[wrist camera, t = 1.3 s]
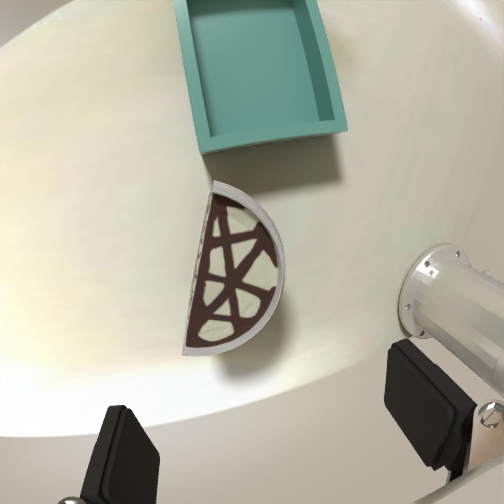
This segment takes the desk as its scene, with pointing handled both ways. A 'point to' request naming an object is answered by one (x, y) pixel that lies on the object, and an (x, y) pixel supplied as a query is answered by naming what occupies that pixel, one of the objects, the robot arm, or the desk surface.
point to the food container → (233, 274)
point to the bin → (258, 72)
